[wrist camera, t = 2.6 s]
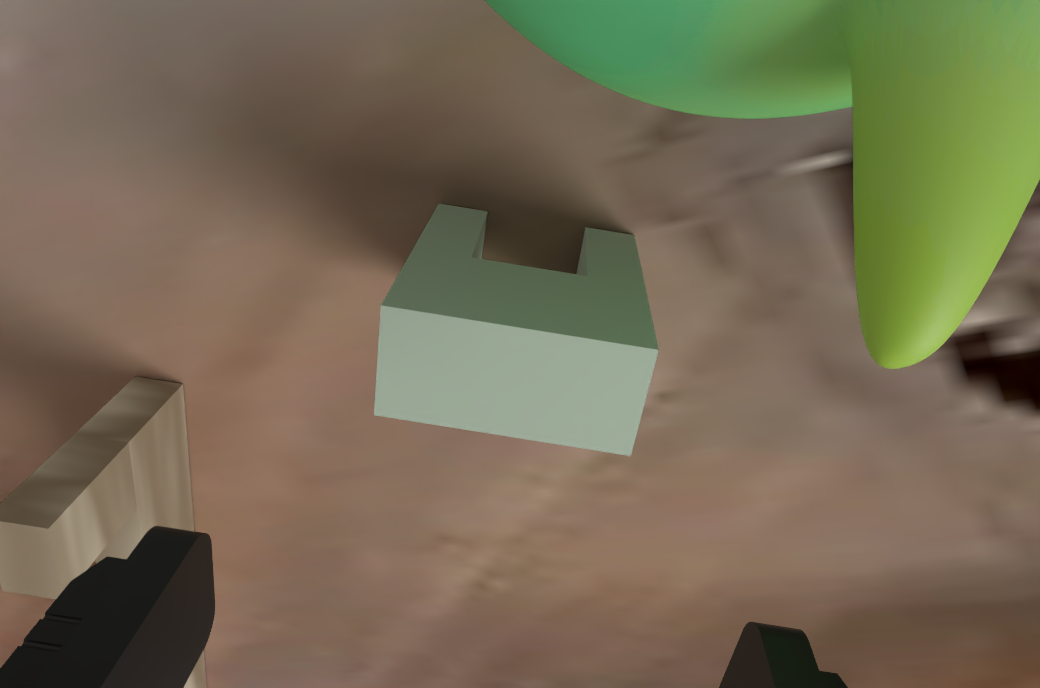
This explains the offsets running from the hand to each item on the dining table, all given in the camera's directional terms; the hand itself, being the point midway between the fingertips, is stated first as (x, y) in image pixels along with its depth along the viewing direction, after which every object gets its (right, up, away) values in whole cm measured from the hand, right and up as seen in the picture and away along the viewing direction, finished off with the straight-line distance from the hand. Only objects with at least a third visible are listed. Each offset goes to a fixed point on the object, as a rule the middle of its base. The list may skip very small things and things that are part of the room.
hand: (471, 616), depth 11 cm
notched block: (+1, +7, +14) cm, 15 cm away
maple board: (-14, -6, +21) cm, 26 cm away
